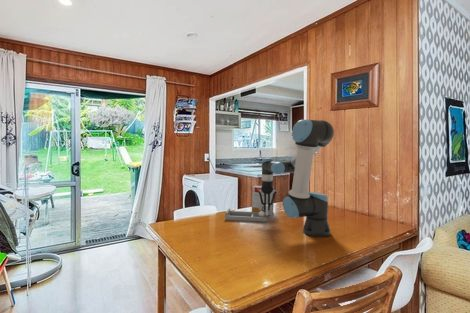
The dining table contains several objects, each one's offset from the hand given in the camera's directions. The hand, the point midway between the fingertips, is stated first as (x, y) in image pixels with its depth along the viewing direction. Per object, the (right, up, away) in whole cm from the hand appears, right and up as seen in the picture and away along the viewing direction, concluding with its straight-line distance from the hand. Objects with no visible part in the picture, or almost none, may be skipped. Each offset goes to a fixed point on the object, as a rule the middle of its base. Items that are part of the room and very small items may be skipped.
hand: (266, 214), depth 175 cm
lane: (-14, -3, +2) cm, 14 cm away
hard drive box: (-1, -3, +17) cm, 18 cm away
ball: (-4, 0, 0) cm, 4 cm away
